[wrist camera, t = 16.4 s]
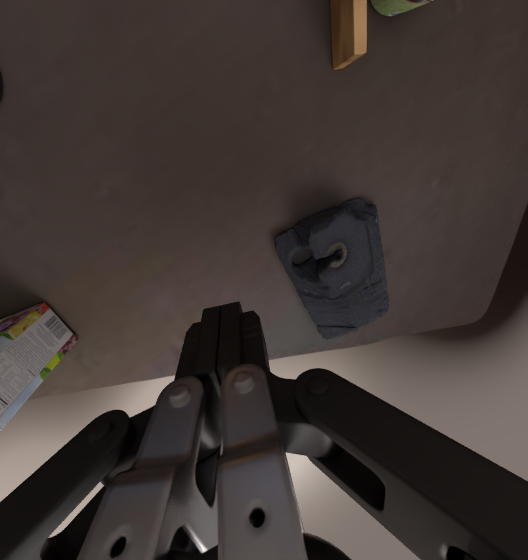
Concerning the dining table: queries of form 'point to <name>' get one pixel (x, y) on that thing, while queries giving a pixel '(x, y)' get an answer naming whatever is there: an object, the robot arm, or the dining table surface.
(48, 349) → the snack box
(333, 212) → the grommeted fabric pouch
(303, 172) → the dining table surface
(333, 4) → the shelf corner
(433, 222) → the dining table surface
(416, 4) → the beverage can
